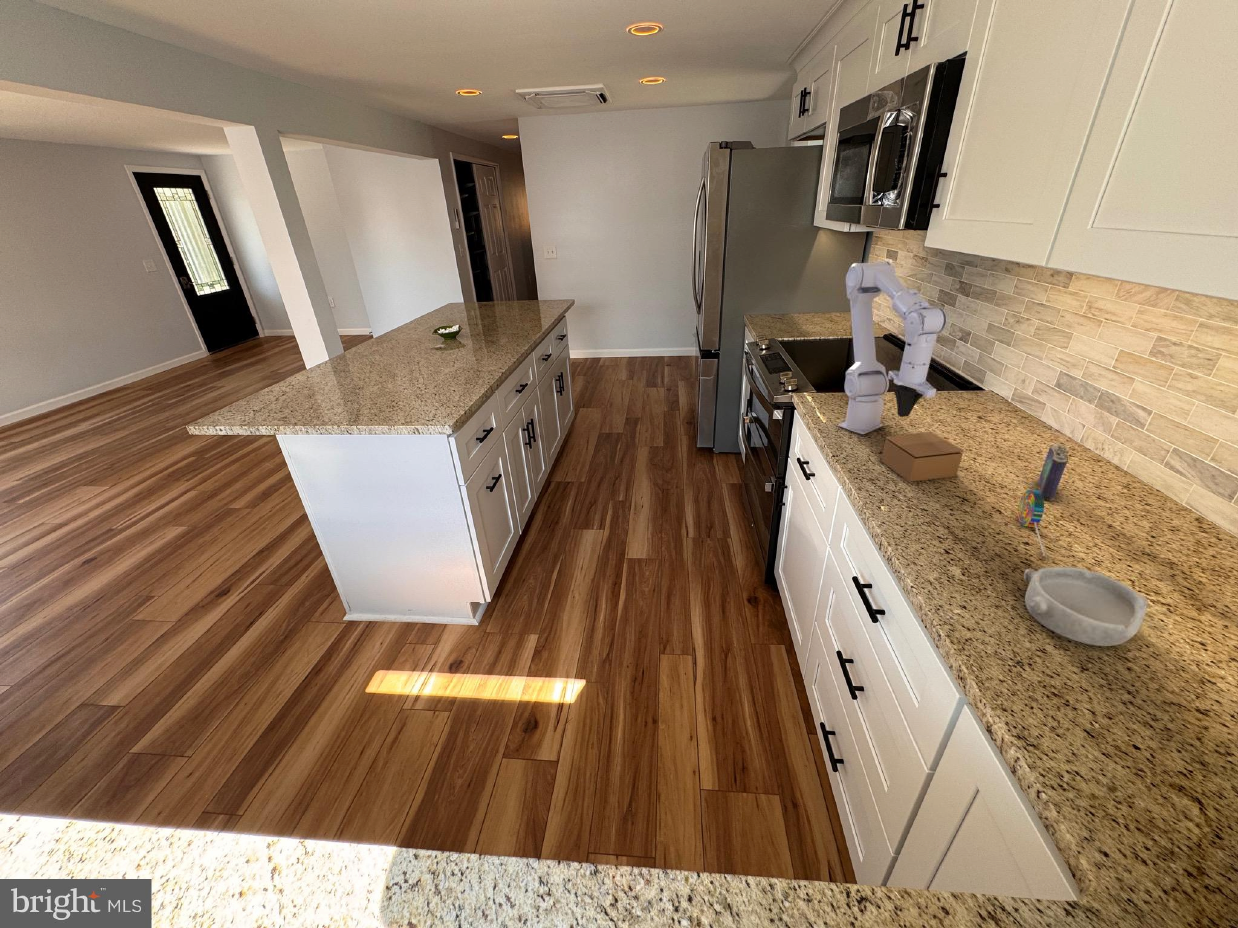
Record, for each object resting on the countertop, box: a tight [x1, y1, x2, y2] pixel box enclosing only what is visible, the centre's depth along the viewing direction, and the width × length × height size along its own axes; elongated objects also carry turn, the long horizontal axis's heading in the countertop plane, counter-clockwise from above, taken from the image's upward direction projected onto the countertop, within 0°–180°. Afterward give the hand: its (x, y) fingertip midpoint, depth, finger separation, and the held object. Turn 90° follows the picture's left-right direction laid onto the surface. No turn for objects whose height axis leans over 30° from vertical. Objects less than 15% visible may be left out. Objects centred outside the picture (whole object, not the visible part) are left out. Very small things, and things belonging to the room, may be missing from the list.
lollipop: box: [1017, 489, 1046, 557], centre depth 96 cm, size 7×1×15 cm
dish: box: [1023, 566, 1149, 647], centre depth 77 cm, size 14×14×5 cm
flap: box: [885, 431, 947, 447], centre depth 121 cm, size 5×12×1 cm, turn 98°
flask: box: [1036, 444, 1070, 501], centre depth 108 cm, size 9×3×11 cm, turn 147°
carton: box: [880, 438, 964, 483], centre depth 120 cm, size 11×12×7 cm
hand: (903, 415), depth 125 cm, fingers closed
